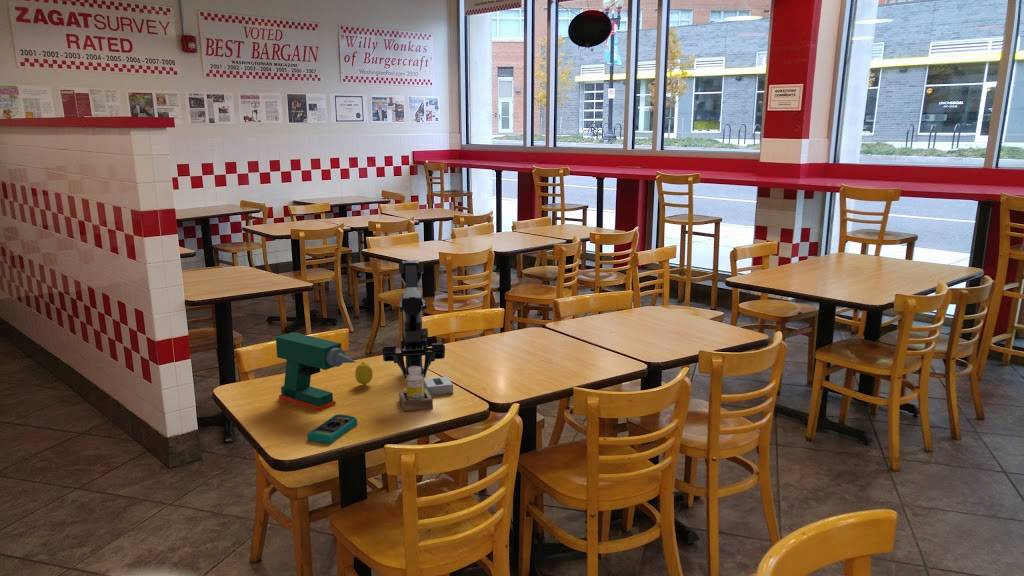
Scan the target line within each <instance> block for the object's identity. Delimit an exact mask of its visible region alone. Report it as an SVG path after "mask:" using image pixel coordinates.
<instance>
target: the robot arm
mask: <svg viewBox="0 0 1024 576" xmlns="http://www.w3.org/2000/svg"><path fill="white" fill-rule="evenodd" d="M401 261H402V262H399V263H398V275H400V276H401V277H400V278H401V281H402V283H403V285H404V286H405V290H404V291H403V292H402V293H401V296H402V299H400V301H399V311H400V313H401V312H402V314H403V333H402V338H401V339H400V348H399V347H398V348H397V345H396V344H393V345H390V344H389V345H384V346H383V347H382V360H383V362H393V363H394V364H397V365H398V367H399V368H400V370H401V373H402V375H403V377H404V379H405V380H406V376H407V375H408V374H409V373H408V368H409V367H411V366H419V367H421V373H422V374H423V376H424V379H426V375H427V374H428V370H429V368H430V366H431V363H432V362H436V360H444V359H445V357H446V356H445V355H446V346H445V344H444V343H443V342H438V343H431V347H429V343H428V341H427V340H429V330H428V327H427V328H425V327H424V328H423V312H425V310H427V308H428V307H427V302H426V300H425V298H424V299H423V296H422V295H423V294H422V292H421V290H419V286H418V285H419V284H420V282H421V280H422V274H424V263H423V262H420V260H417V259H416V260H415V259H414V260H401ZM423 356H424V364H423ZM404 357H405V360H404ZM406 374H407V375H406Z"/></svg>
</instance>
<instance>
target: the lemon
mask: <svg viewBox="0 0 1024 576" xmlns="http://www.w3.org/2000/svg"><path fill="white" fill-rule="evenodd" d="M354 377H355V380H356V382H358V384H361V385H363V387H365V386H366V385H367V384H369V383H370V382H371V381H372V379H373V369H372V366H371V365H370V364H369V363H367V362H364V361H363V362H361V363H359V364H358V365H357V366H356V368H355V373H354Z"/></svg>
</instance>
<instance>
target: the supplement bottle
mask: <svg viewBox="0 0 1024 576" xmlns="http://www.w3.org/2000/svg"><path fill="white" fill-rule="evenodd" d="M408 373H409V374H408V375H406V379H405V382H406V383H405V384H406V385H405V386H406V388H405V389H406V391H407V399H408V400H414V399H423V398H424V379H425V378H424V373H421V367H419V366H411V367H409V368H408Z"/></svg>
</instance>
